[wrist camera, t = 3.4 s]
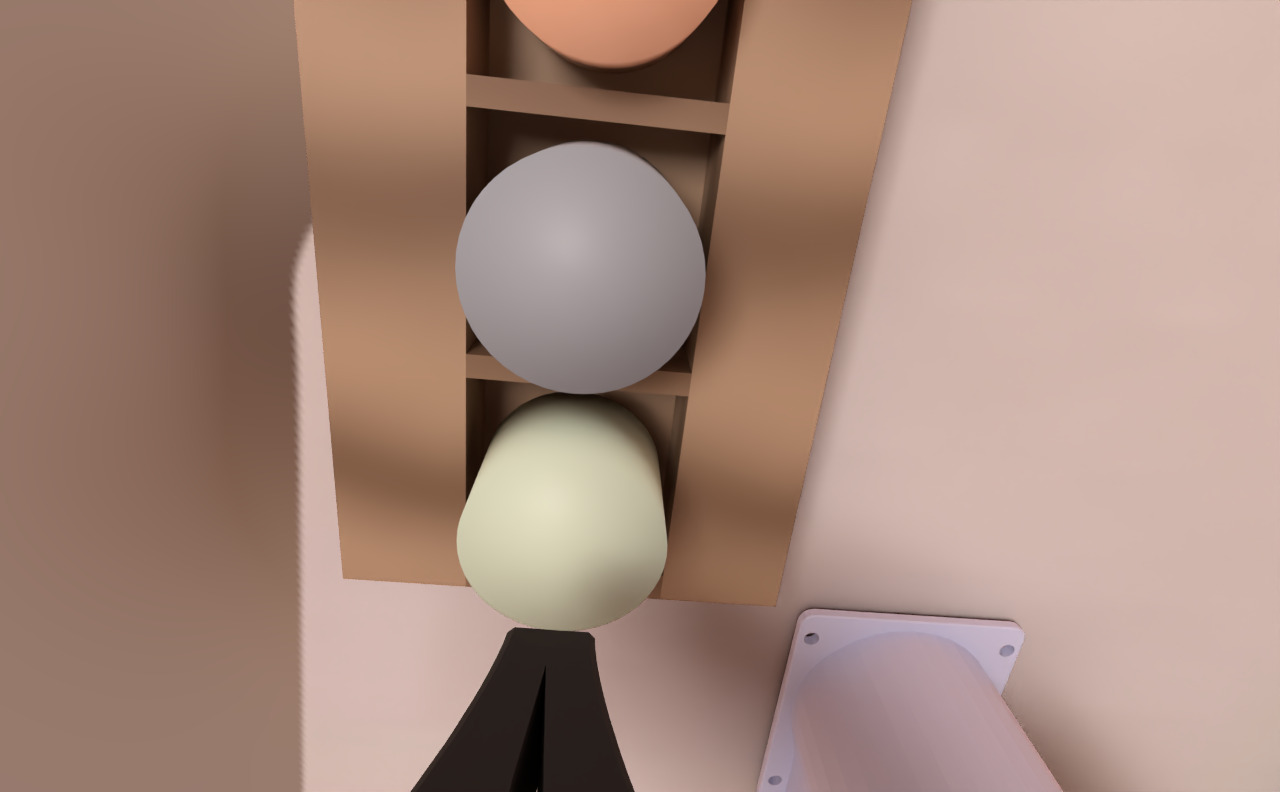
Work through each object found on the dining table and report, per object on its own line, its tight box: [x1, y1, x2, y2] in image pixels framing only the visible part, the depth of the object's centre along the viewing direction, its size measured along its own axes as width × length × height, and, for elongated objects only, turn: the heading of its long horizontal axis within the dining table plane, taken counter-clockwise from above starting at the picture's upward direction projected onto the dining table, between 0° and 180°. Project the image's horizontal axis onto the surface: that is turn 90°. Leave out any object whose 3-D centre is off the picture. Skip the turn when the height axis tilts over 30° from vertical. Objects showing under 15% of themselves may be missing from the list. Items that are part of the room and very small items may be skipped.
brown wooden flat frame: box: [294, 0, 912, 607], centre depth 16 cm, size 19×12×3 cm, turn 174°
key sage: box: [457, 392, 667, 631], centre depth 16 cm, size 5×5×4 cm
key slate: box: [455, 140, 706, 394], centre depth 14 cm, size 5×5×4 cm
